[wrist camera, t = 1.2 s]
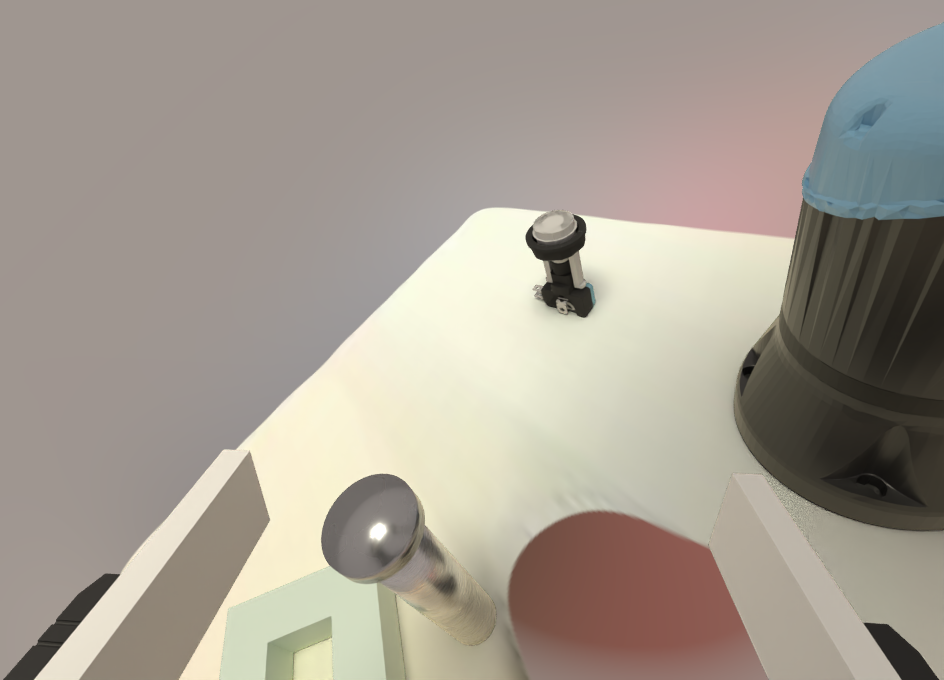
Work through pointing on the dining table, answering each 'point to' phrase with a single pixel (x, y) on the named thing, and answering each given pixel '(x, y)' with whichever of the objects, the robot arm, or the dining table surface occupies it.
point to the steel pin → (404, 556)
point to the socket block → (315, 630)
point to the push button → (561, 261)
